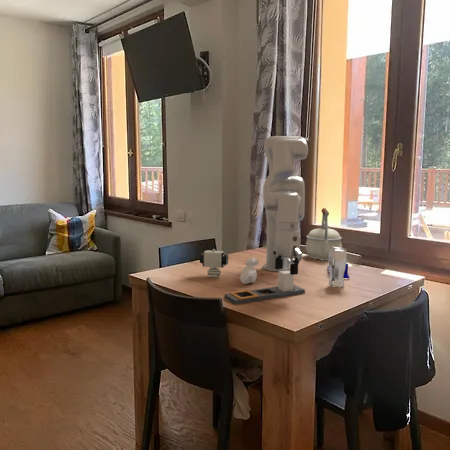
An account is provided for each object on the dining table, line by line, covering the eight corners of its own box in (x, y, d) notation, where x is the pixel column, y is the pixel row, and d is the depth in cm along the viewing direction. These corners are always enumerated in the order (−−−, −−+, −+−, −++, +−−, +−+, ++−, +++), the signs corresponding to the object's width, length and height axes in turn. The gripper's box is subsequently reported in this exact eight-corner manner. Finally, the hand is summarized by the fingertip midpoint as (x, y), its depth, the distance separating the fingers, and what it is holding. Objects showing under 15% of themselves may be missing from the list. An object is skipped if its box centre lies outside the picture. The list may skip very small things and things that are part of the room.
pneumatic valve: (225, 278, 190) (226, 251, 188) (199, 277, 192) (199, 249, 191) (228, 275, 195) (229, 248, 193) (202, 273, 198) (202, 247, 196)
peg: (286, 290, 174) (287, 270, 173) (292, 293, 170) (293, 272, 169) (278, 291, 172) (278, 271, 171) (284, 294, 168) (284, 273, 167)
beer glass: (335, 288, 176) (337, 251, 174) (323, 284, 183) (325, 248, 180) (348, 286, 180) (350, 249, 177) (337, 282, 186) (338, 246, 184)
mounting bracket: (327, 269, 209) (327, 257, 208) (343, 270, 208) (343, 257, 207) (331, 280, 191) (332, 266, 190) (349, 280, 190) (349, 266, 189)
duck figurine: (250, 291, 180) (268, 269, 179) (235, 280, 179) (253, 258, 178) (247, 283, 192) (263, 262, 191) (233, 272, 191) (249, 251, 190)
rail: (292, 287, 177) (292, 283, 177) (304, 293, 170) (304, 288, 170) (224, 298, 164) (224, 293, 163) (234, 304, 157) (235, 299, 156)
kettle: (304, 252, 244) (306, 206, 241) (339, 253, 242) (341, 207, 238) (306, 263, 220) (308, 212, 216) (344, 264, 217) (347, 213, 214)
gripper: (310, 228, 161) (308, 275, 163) (282, 223, 176) (281, 266, 179) (292, 229, 158) (291, 277, 160) (266, 224, 173) (265, 268, 175)
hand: (286, 271), depth 169 cm, fingers open, 9 cm apart
